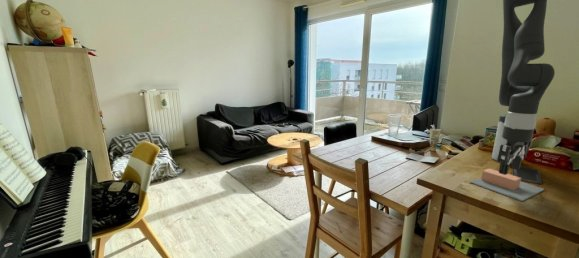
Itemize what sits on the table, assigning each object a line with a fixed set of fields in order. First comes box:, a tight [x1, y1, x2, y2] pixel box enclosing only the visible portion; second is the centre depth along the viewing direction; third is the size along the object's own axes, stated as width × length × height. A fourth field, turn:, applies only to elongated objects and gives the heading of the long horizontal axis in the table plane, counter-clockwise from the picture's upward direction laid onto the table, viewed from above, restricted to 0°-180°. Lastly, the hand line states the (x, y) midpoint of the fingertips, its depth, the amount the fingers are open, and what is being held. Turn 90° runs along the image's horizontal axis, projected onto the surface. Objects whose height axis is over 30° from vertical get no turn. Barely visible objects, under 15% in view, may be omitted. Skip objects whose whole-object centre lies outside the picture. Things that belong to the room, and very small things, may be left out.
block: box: [480, 168, 522, 190], centre depth 89 cm, size 4×4×10 cm
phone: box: [512, 166, 543, 185], centre depth 96 cm, size 8×1×15 cm
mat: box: [469, 176, 546, 202], centre depth 88 cm, size 16×15×1 cm
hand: (509, 171), depth 86 cm, fingers open, 8 cm apart
